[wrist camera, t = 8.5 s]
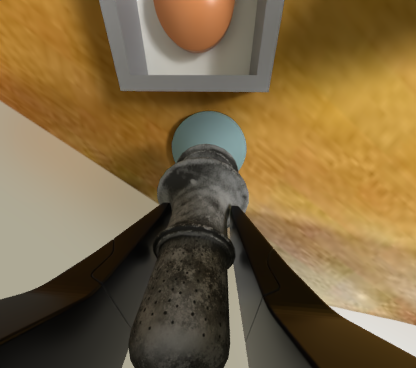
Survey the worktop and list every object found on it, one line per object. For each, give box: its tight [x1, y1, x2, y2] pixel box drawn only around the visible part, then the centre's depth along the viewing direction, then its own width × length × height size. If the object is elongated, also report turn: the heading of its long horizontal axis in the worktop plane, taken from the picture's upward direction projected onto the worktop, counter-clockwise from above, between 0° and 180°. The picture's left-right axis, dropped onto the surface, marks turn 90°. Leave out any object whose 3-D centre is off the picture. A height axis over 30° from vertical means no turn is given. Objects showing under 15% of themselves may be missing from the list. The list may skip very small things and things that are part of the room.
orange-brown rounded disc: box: [153, 0, 235, 53], centre depth 11 cm, size 6×6×1 cm
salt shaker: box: [128, 144, 249, 368], centre depth 8 cm, size 6×6×12 cm
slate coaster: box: [172, 111, 246, 171], centre depth 18 cm, size 8×8×1 cm
